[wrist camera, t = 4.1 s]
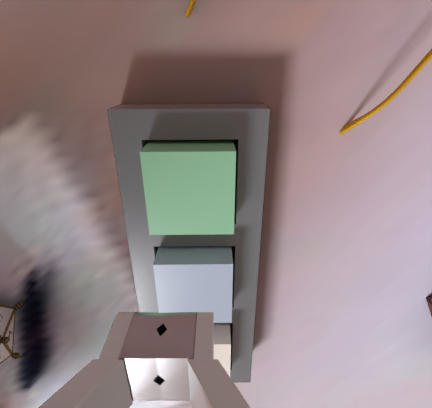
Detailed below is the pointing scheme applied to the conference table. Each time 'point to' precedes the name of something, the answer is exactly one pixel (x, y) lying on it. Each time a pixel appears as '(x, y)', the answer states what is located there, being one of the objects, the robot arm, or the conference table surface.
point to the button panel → (241, 239)
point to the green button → (189, 187)
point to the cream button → (222, 345)
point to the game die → (7, 331)
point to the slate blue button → (195, 280)
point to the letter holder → (430, 303)
